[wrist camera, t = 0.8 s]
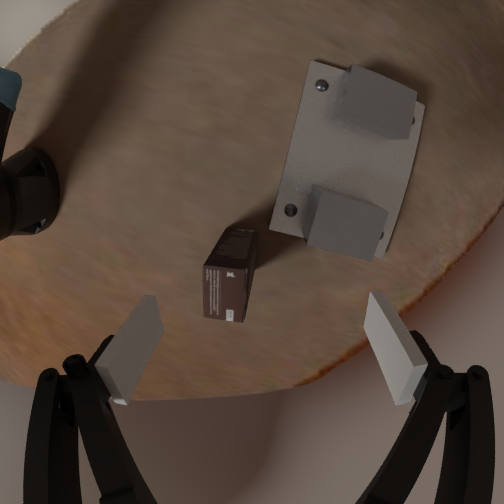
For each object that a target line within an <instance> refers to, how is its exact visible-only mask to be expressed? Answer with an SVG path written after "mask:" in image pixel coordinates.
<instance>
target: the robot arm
mask: <svg viewBox="0 0 504 504" xmlns="http://www.w3.org/2000/svg"><path fill="white" fill-rule="evenodd" d="M21 86H22V79H21V76H20V75H19V74H18V73H17V72H14V71H11V70H8V69H4V68H1V67H0V241H1V240H2V239H4V238H6V237H8V236H12V235H34V234H37V233H39V232H41V231H43V230H45V229H47V228H48V227H49V226H50V225H51V224H52V222H53V220H54V218H55V216H56V213H57V209H58V204H59V183H58V177H57V173H56V170H55V167H54V164H53V162H52V160H51V159H50V157H49V156H48V155H47V154H46V153H45V152H44V151H43V150H41V149H39V148H28V149H23V150H20V151H18V152H17V153H15V154H14V155H12V156H11V157H9V158H8V159H6V160H5V161H3V162H2V157H3V152H4V147H5V143H6V139H7V135H8V131H9V127H10V124H11V120H12V117H13V114H14V112H15V111H16V103H17V99H18V96H19V93H20V90H21ZM1 162H2V163H1ZM364 330H365V332H366V334H367V337H368V339H369V341H370V343H371V346H372V348H373V350H374V353H375V355H376V357H377V359H378V362H379V365H380V367H381V369H382V372H383V374H384V377H385V379H386V381H387V384H388V387H389V389H390V392H391V394H392V397H393V400H394V402H395V405H396V406H398V405H402V404H406V403H409V402H410V400H411V398H412V396H414V398H415V400H416V402H415V404H414V405H413V407H412V409H411V411H410V412H409V416H408V418H407V420H406V422H405V424H404V426H403V428H402V430H401V432H400V434H399V436H398V438H397V440H396V442H395V443H394V445H393V447H392V449H391V451H390V452H389V454H388V456H387V457H386V459H385V461H384V462H383V464H382V466H381V467H380V469H379V470H378V472H377V473H376V475H375V477H374V478H373V479H372V481H371V482H370V484H369V485H368V487H367V488H366V490H365V491H364V492H363V494H362V495H361V497H360V498H359V499H358V500H357V502H356V503H355V504H404V502H405V500H406V499H407V497H408V495H409V494H410V492H411V490H412V488H413V486H414V484H415V482H416V481H417V478H418V477H419V474H420V473H421V470H422V468H423V466H424V464H425V462H426V460H427V457H428V455H429V453H430V451H431V448H432V446H433V443H434V441H435V438H436V436H437V433H438V431H439V428H440V425H441V422H442V419H443V416H444V413H445V412H447V420H446V435H445V445H444V453H443V460H442V467H441V473H440V479H439V484H438V489H437V493H436V498H435V502H434V504H491V500H492V492H493V482H494V468H495V429H494V428H495V427H494V413H493V403H492V395H491V387H490V380H489V375H488V372H487V371H486V369H485V368H483V367H482V366H479V365H473V366H471V367H470V368H469V369H468V371H467V373H454V371H453V370H452V369H451V368H450V367H448V366H446V365H442V364H440V362H439V361H438V359H437V358H436V356H435V354H434V353H433V351H432V350H431V348H429V345H428V343H426V340H425V339H424V337H423V336H422V335H421V334H420V333H418V332H417V331H416V330H413V331H408V330H407V328H406V327H405V325H404V324H403V322H402V320H401V319H400V317H399V316H398V314H397V313H396V311H395V309H394V308H393V306H392V305H391V304H390V302H389V301H388V299H387V298H386V296H385V295H384V293H383V292H382V290H377V291H370V295H369V301H368V307H367V312H366V318H365V323H364ZM163 333H164V328H163V324H162V320H161V316H160V313H159V309H158V305H157V301H156V296H152V295H145V296H144V297H143V298H142V299H141V301H140V302H139V303H138V305H137V306H136V307H135V309H134V310H133V311H132V313H131V314H130V315H129V317H128V318H127V320H126V321H125V322H124V324H123V325H122V326H121V328H120V329H119V331H118V332H117V333H116V335H110V336H109V337H107V338H106V339H105V340H104V341H103V342H102V343H101V345H100V347H99V348H98V349H97V351H96V352H95V353H94V354H93V356H92V357H91V359H90V360H89V361H88V363H87V362H86V360H85V358H84V356H82V355H80V354H75V355H71V356H69V357H67V358H66V359H65V360H64V362H63V365H62V367H63V368H64V370H65V372H66V374H67V375H60V374H59V373H58V371H57V370H56V369H54V368H48V369H46V370H44V371H43V372H42V373H41V374H40V376H39V379H38V383H37V387H36V391H35V395H34V400H33V405H32V410H31V416H30V421H29V427H28V434H27V442H26V451H25V462H24V481H23V482H24V483H23V501H24V503H23V504H82V498H81V488H80V476H79V456H78V425H79V429H80V433H81V436H82V440H83V444H84V447H85V450H86V454H87V456H88V460H89V463H90V466H91V468H92V471H93V474H94V477H95V480H96V482H97V485H98V487H99V490H100V492H101V498H100V499H99V502H100V504H157V502H156V500H155V498H154V497H153V495H152V493H151V492H150V490H149V488H148V486H147V484H146V483H145V481H144V479H143V477H142V475H141V474H140V471H139V470H138V468H137V466H136V464H135V462H134V460H133V457H132V455H131V454H130V451H129V449H128V447H127V445H126V442H125V440H124V438H123V436H122V433H121V431H120V428H119V426H118V423H117V421H116V418H115V416H114V413H113V410H112V408H111V405H110V403H109V401H108V400H109V398H110V396H111V397H112V398H113V400H114V402H115V403H119V404H124V405H128V402H129V401H130V398H131V396H132V394H133V392H134V390H135V388H136V386H137V384H138V382H139V380H140V378H141V376H142V374H143V372H144V370H145V368H146V366H147V364H148V362H149V360H150V358H151V356H152V354H153V352H154V350H155V348H156V346H157V344H158V342H159V340H160V338H161V336H162V334H163Z"/></svg>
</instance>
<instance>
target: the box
mask: <svg viewBox="0 0 504 504" xmlns="http://www.w3.org/2000/svg"><path fill="white" fill-rule="evenodd" d="M257 238H258V231H257V230H252V229H250V230H249V229H238V228H226V229H225V231H224V232H223V234H222V235H221V237H220V239H219V240H218V242H217V244H216V245H215V247H214V249H213V250H212V252H211V254H210V255H209V257H208V259H207V260H206V262H205V264H204V265H203V311H204V317H206V318H212V319H219V320H227V321H234V322H241V323H243V322H244V319H245V315H246V310H247V305H248V300H249V296H250V291H251V286H252V281H253V276H254V271H255V262H256V251H257Z"/></svg>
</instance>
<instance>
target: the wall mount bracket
mask: <svg viewBox="0 0 504 504" xmlns="http://www.w3.org/2000/svg"><path fill="white" fill-rule="evenodd" d="M416 99H417V91H415V90H413V89H411V88H409V87H407V86H405V85H402V84H400V83H398V82H396V81H394V80H392V79H390V78H387V77H385V76H383V75H380V74H378V73H376V72H373V71H371V70H368V69H366V68H363V67H360V66H358V65H355V64H352V65H351V66H350V67H349V68H348V69H347V70H346V71H344V70H341V69H338V68H335V67H332V66H329V65H325V64H322V63H318V62H315V61H311V60H310V62H309V66H308V70H307V74H306V78H305V83H304V87H303V91H302V95H301V99H300V104H299V108H298V112H297V116H296V120H295V124H294V128H293V132H292V137H291V141H290V145H289V149H288V153H287V157H286V161H285V165H284V169H283V173H282V177H281V181H280V185H279V189H278V193H277V197H276V201H275V205H274V209H273V213H272V217H271V221H270V225H269V230H273V231H278V232H282V233H286V234H290V235H294V236H298V237H302V238H304V239H305V242H306V245H309V246H313V247H317V248H321V249H325V250H329V251H333V252H337V253H341V254H344V255H348V256H352V257H356V258H360V259H364V260H368V261H372V259H373V256H375V257H379V258H382V259H383V256H384V254H385V251H386V248H387V246H388V243H389V240H390V237H391V235H392V232H393V229H394V226H395V223H396V220H397V217H398V214H399V211H400V208H401V204H402V201H403V198H404V194H405V191H406V188H407V184H408V180H409V177H410V173H411V169H412V165H413V161H414V157H415V153H416V149H417V144H418V140H419V135H420V130H421V125H422V120H423V114H424V108H425V105H423V104H421V103H419V102H417V101H416Z"/></svg>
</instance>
